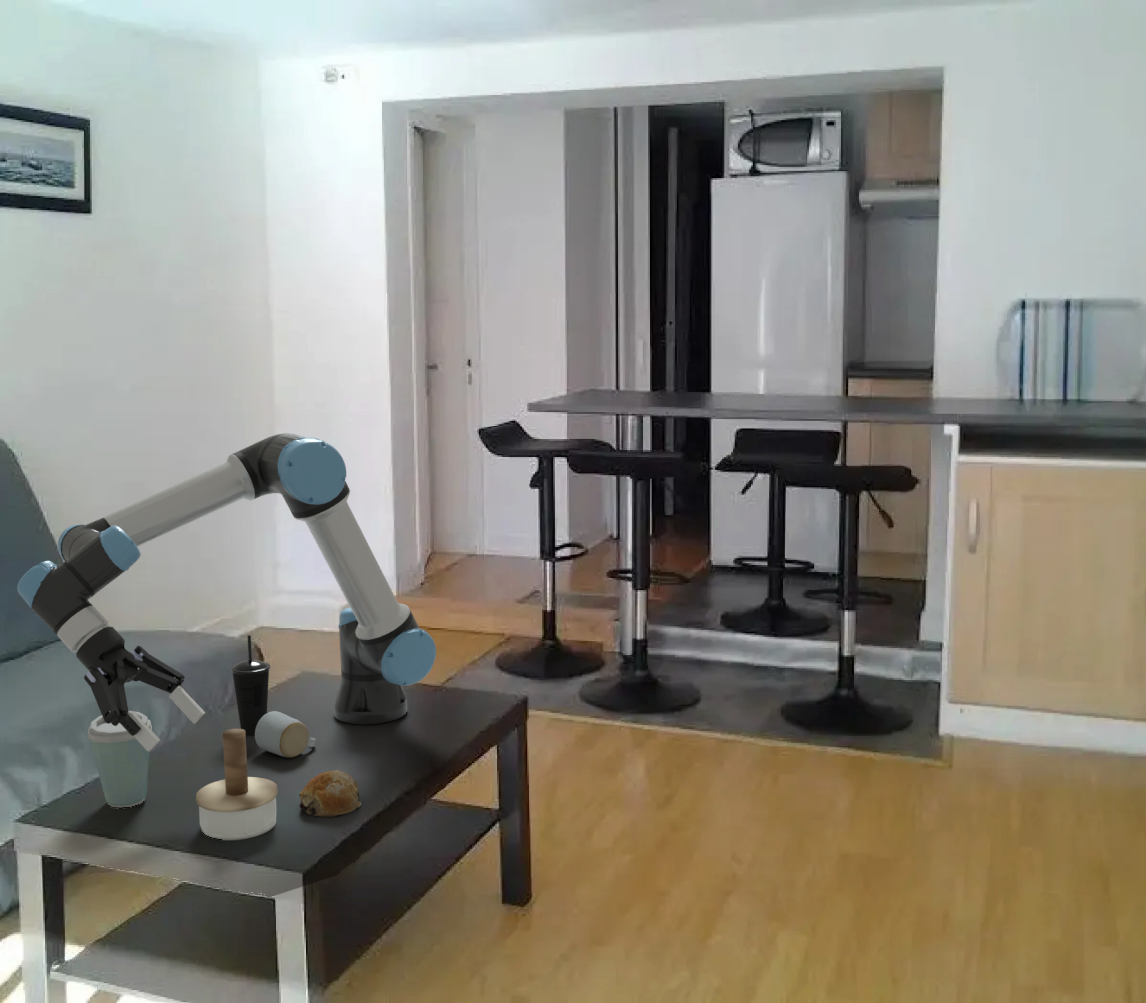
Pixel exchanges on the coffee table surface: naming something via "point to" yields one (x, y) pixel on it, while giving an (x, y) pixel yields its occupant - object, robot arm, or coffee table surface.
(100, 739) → the disposable coffee cup
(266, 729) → the ceramic mug
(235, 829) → the bowl
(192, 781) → the coffee table surface
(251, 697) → the drinking cup
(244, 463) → the robot arm
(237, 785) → the lid
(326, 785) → the bread roll
